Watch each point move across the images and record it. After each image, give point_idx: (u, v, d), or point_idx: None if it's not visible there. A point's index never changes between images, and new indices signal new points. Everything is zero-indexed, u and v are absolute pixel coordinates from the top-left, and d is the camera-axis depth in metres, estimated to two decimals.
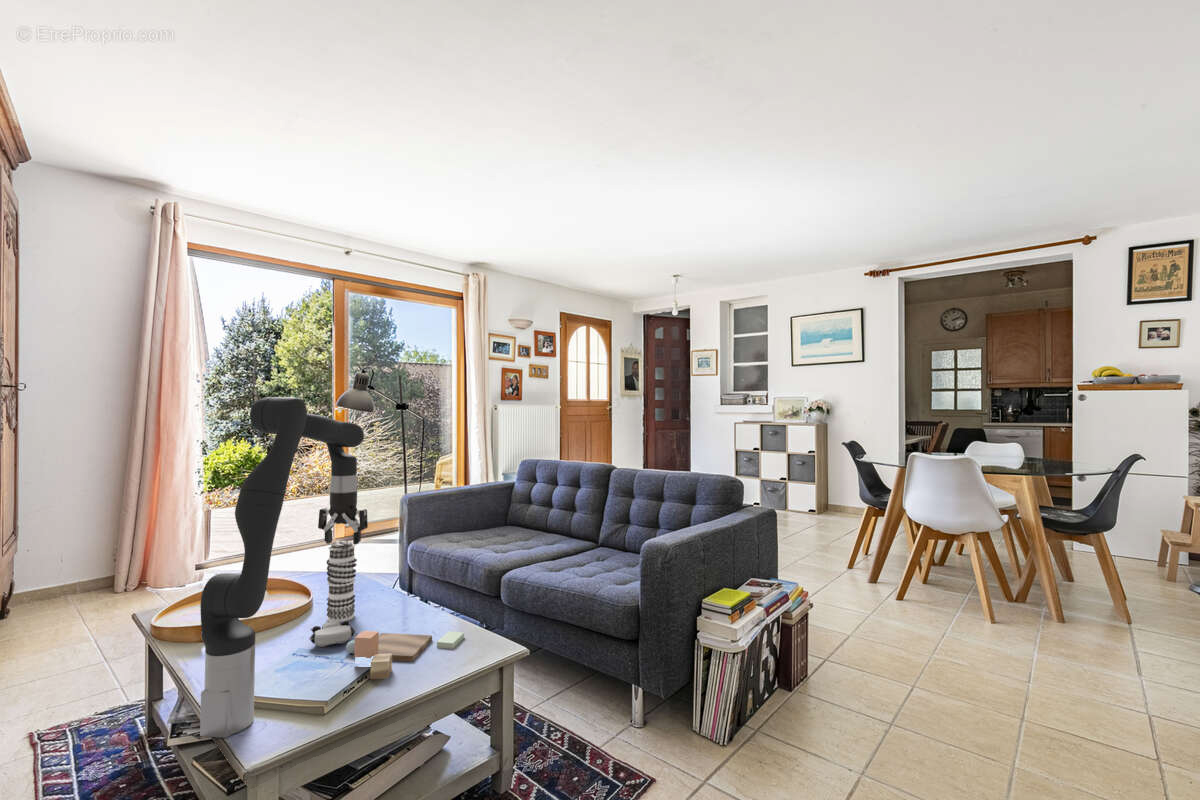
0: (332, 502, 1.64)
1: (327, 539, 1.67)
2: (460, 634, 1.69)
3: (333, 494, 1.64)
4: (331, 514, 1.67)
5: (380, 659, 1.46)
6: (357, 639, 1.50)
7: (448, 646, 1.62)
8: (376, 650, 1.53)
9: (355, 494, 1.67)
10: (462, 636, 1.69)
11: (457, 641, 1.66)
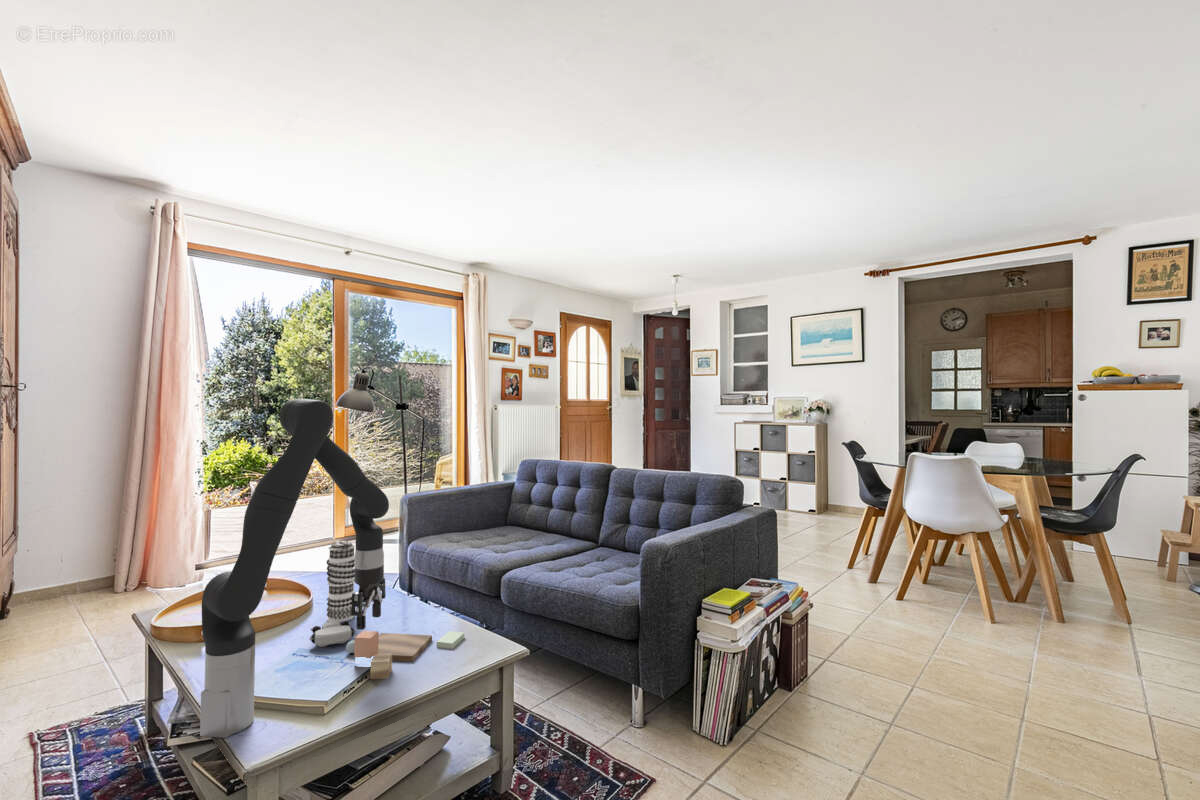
0: (378, 578, 1.51)
1: (364, 624, 1.49)
2: (460, 634, 1.69)
3: (379, 569, 1.52)
4: (367, 594, 1.50)
5: (380, 659, 1.46)
6: (357, 639, 1.50)
7: (448, 646, 1.62)
8: (376, 650, 1.53)
9: None
10: (463, 636, 1.69)
11: (457, 641, 1.65)
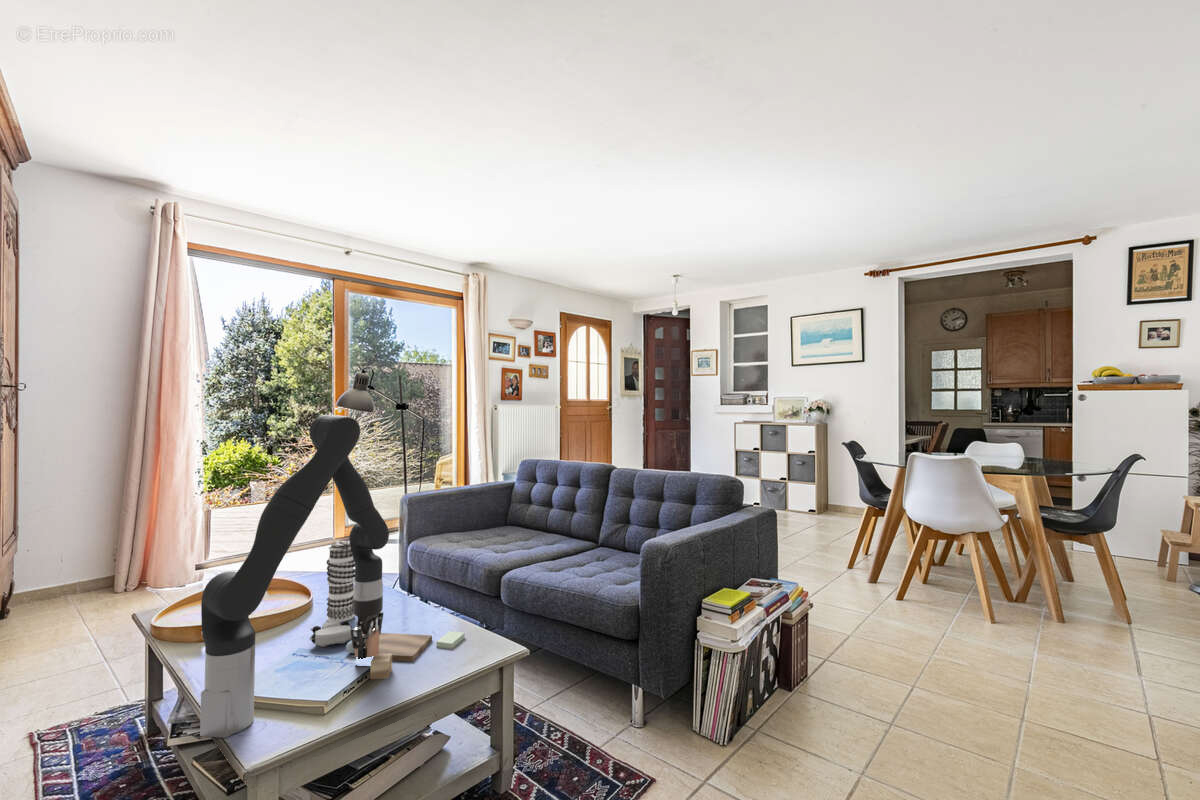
0: (377, 609, 1.51)
1: (366, 656, 1.50)
2: (460, 634, 1.69)
3: (378, 600, 1.51)
4: (365, 626, 1.50)
5: (380, 659, 1.46)
6: None
7: (447, 646, 1.62)
8: (377, 649, 1.54)
9: None
10: (463, 636, 1.69)
11: (457, 641, 1.65)
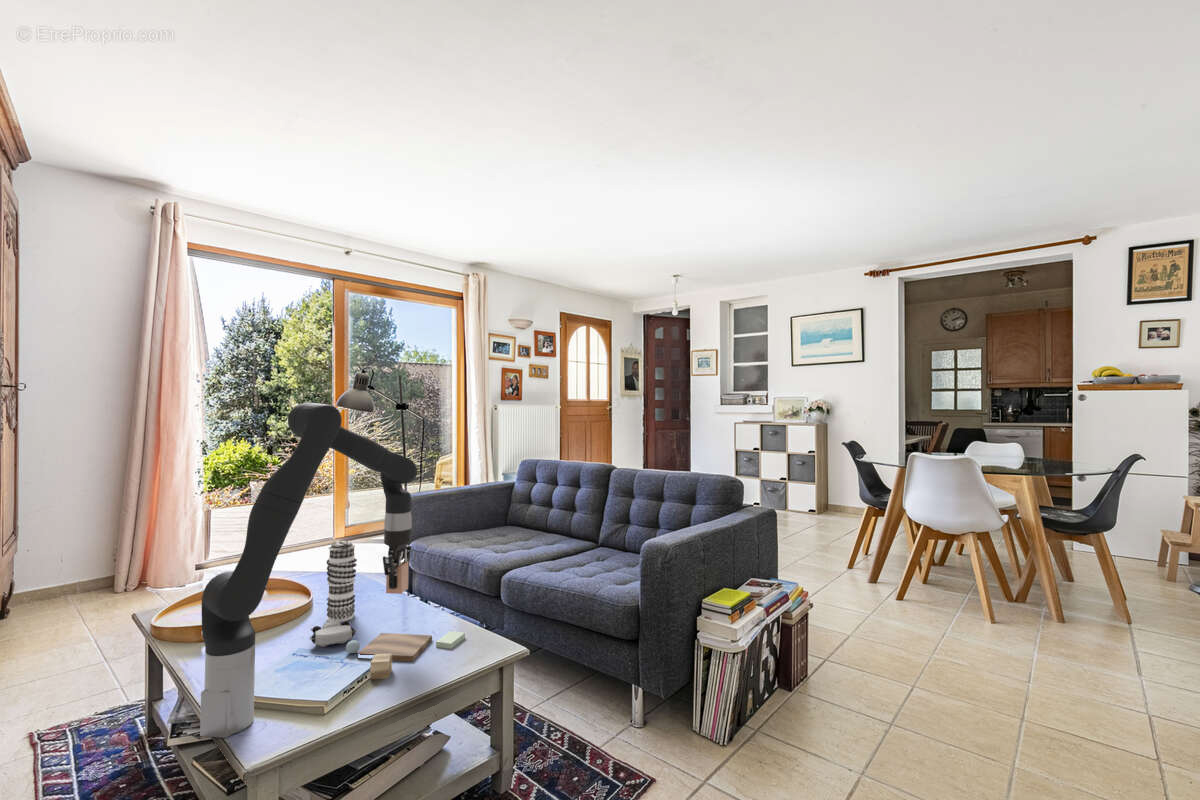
0: (407, 539, 1.60)
1: (396, 584, 1.59)
2: (460, 634, 1.68)
3: (407, 531, 1.60)
4: (396, 555, 1.59)
5: (380, 659, 1.46)
6: None
7: (447, 646, 1.62)
8: (406, 578, 1.63)
9: None
10: (463, 636, 1.69)
11: (456, 641, 1.65)
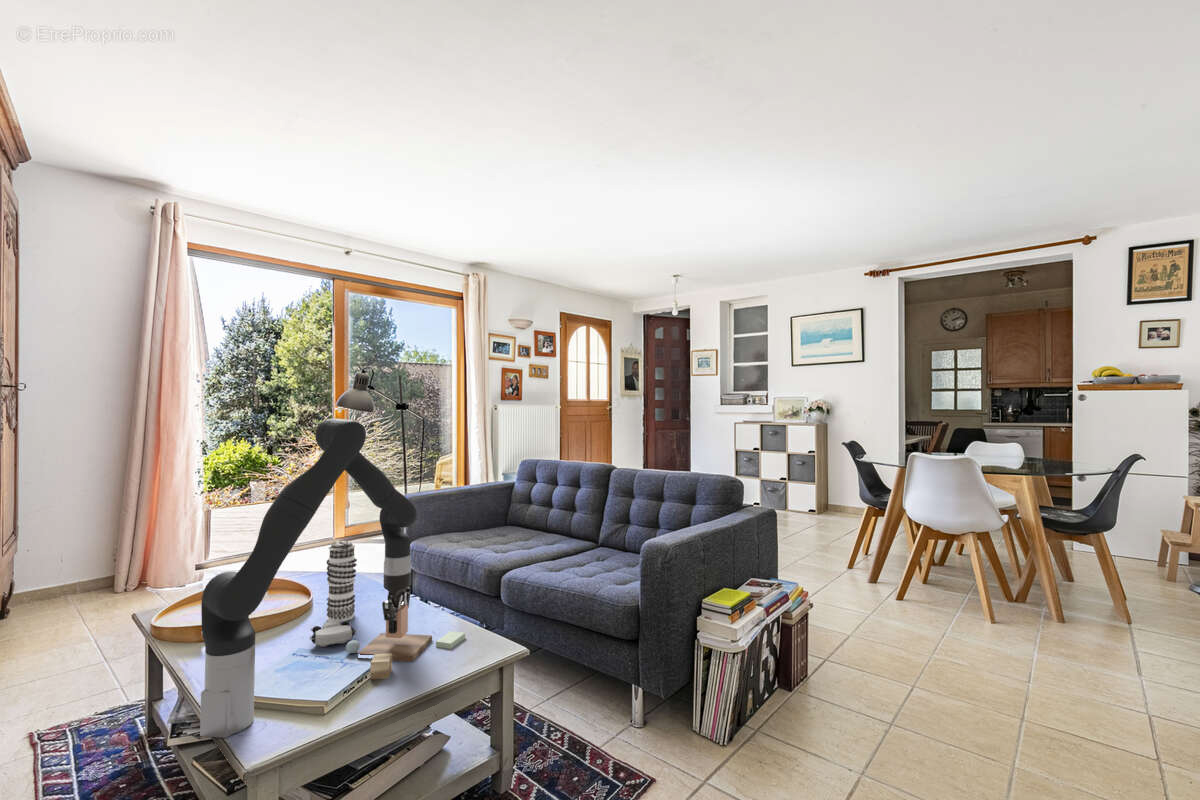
0: (406, 583, 1.60)
1: (396, 628, 1.59)
2: (460, 634, 1.68)
3: (407, 575, 1.60)
4: (395, 599, 1.59)
5: (380, 659, 1.46)
6: None
7: (446, 646, 1.62)
8: (406, 622, 1.63)
9: None
10: (463, 636, 1.69)
11: (456, 641, 1.65)
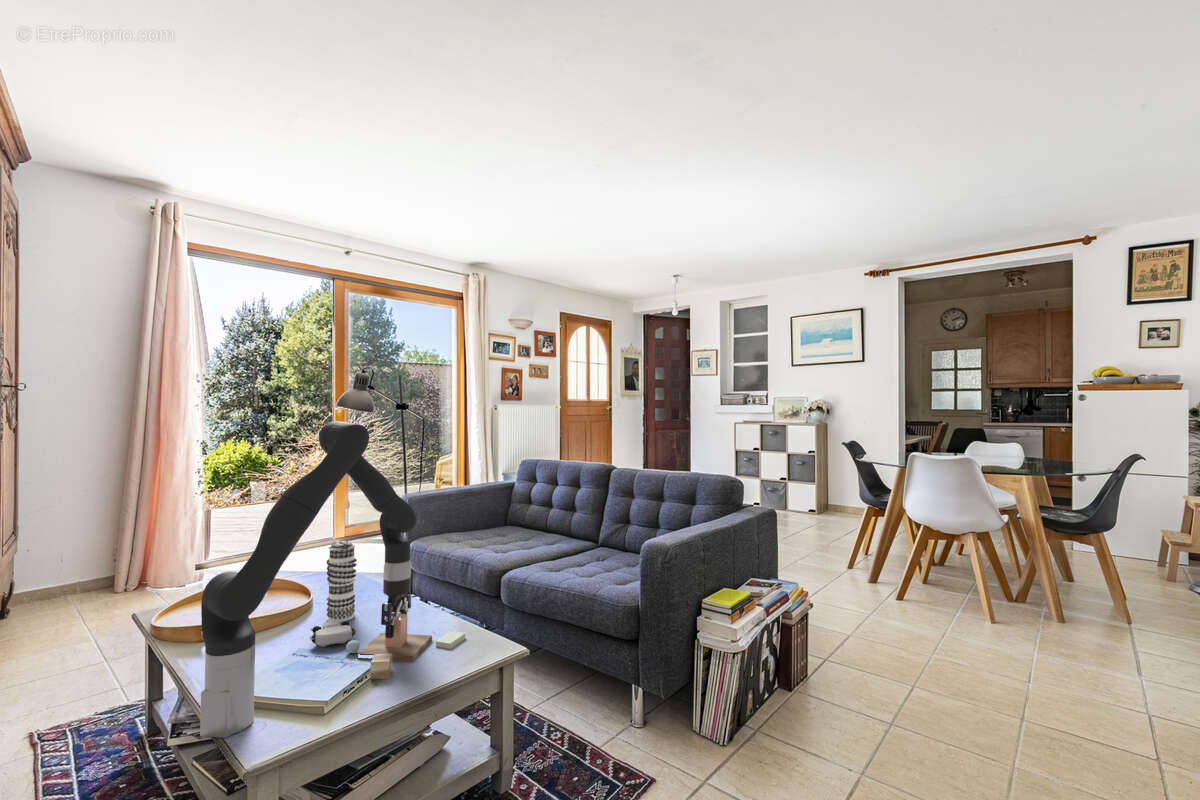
0: (406, 589, 1.60)
1: (393, 633, 1.57)
2: (461, 634, 1.68)
3: (407, 580, 1.60)
4: (395, 604, 1.58)
5: (380, 659, 1.46)
6: None
7: (446, 646, 1.62)
8: (405, 631, 1.62)
9: None
10: (463, 637, 1.69)
11: (456, 641, 1.65)
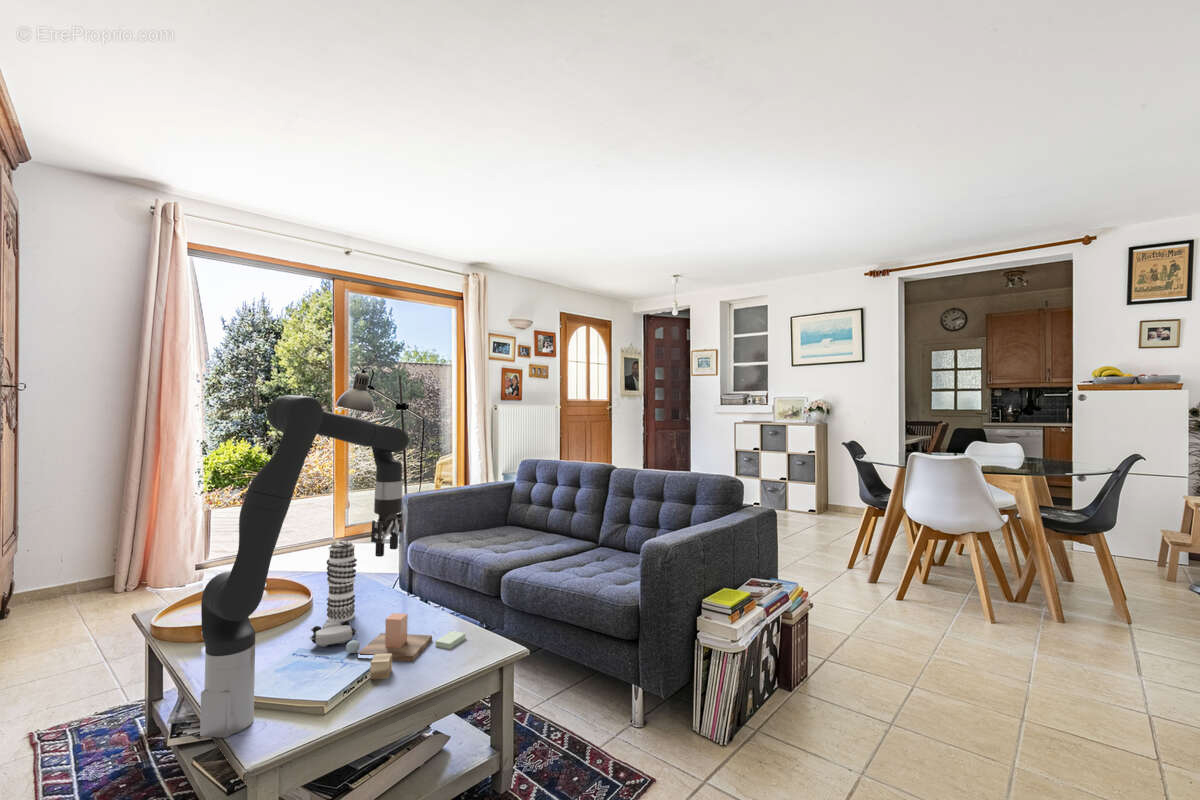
0: (397, 509, 1.59)
1: (383, 551, 1.56)
2: (461, 635, 1.68)
3: (398, 500, 1.60)
4: (386, 524, 1.58)
5: (380, 659, 1.46)
6: (388, 620, 1.59)
7: (446, 646, 1.62)
8: (405, 631, 1.62)
9: None
10: (463, 637, 1.69)
11: (456, 642, 1.65)
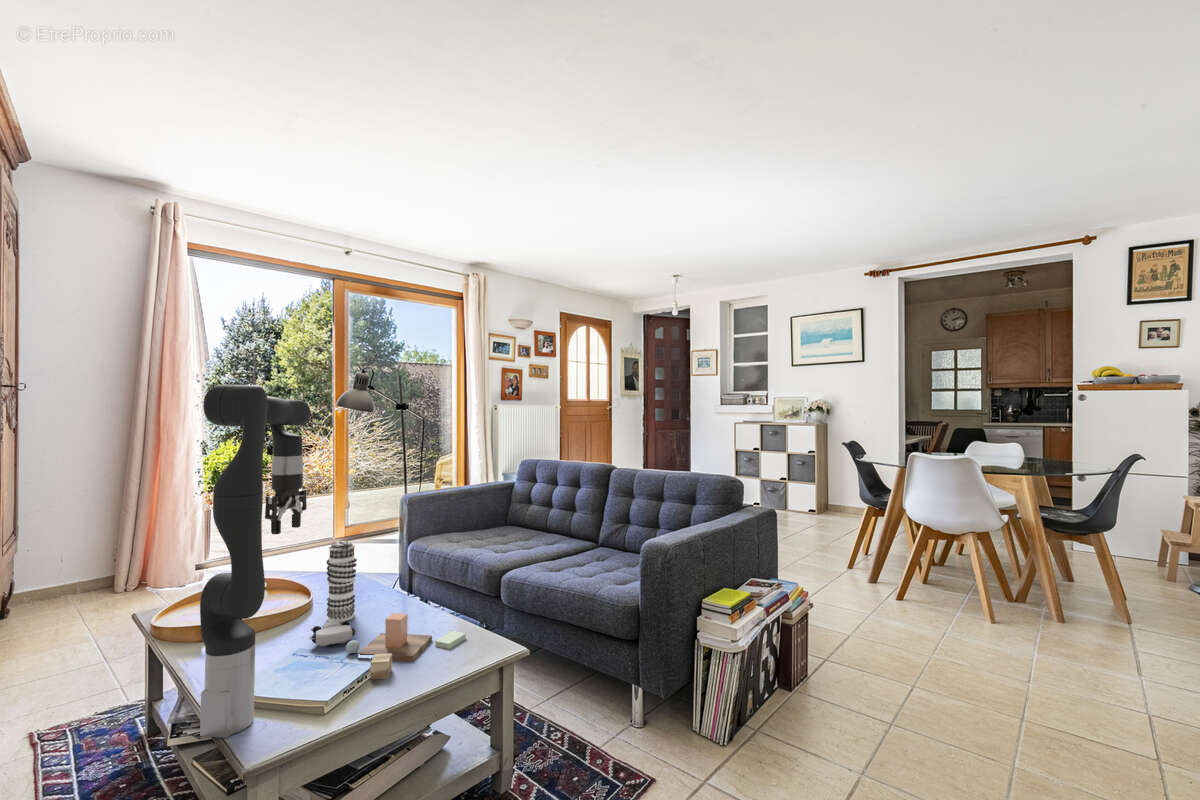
0: (295, 484, 1.52)
1: (279, 529, 1.49)
2: (461, 635, 1.68)
3: (296, 476, 1.52)
4: (283, 500, 1.50)
5: (380, 659, 1.46)
6: (388, 620, 1.59)
7: (445, 646, 1.62)
8: (405, 631, 1.62)
9: None
10: (463, 637, 1.69)
11: (456, 642, 1.65)
